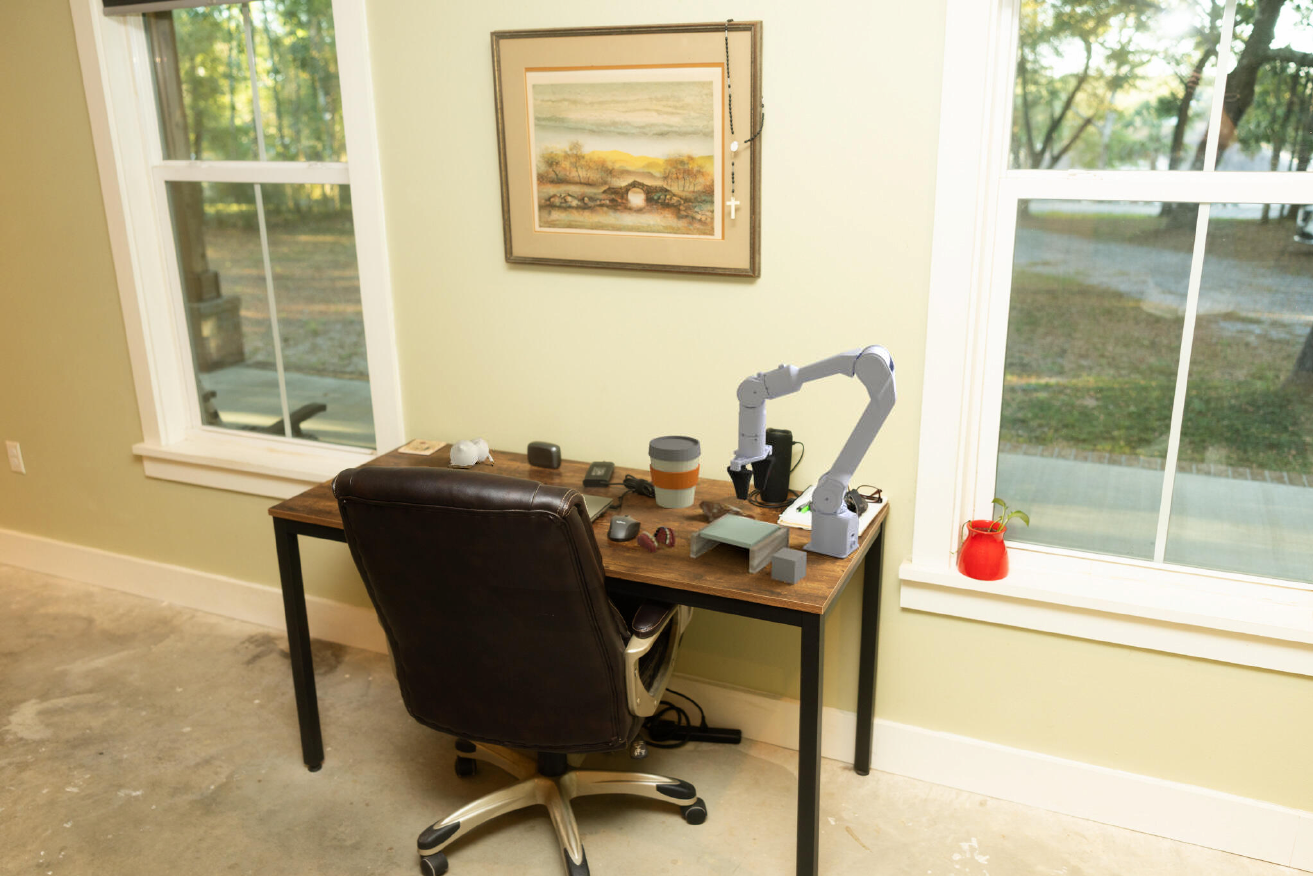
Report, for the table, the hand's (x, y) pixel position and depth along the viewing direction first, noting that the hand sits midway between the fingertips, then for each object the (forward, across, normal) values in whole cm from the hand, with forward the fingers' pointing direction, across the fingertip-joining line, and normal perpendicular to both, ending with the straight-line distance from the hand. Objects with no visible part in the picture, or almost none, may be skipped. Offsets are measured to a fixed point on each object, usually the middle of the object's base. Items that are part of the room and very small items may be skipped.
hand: (750, 494), depth 206 cm
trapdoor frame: (+10, +8, +2) cm, 13 cm away
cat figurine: (+11, -5, -89) cm, 89 cm away
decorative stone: (+11, -7, -9) cm, 16 cm away
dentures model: (+11, +14, -15) cm, 23 cm away
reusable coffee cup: (+11, -11, -27) cm, 31 cm away
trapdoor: (+6, +8, +2) cm, 10 cm away
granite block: (+10, +13, +16) cm, 23 cm away
